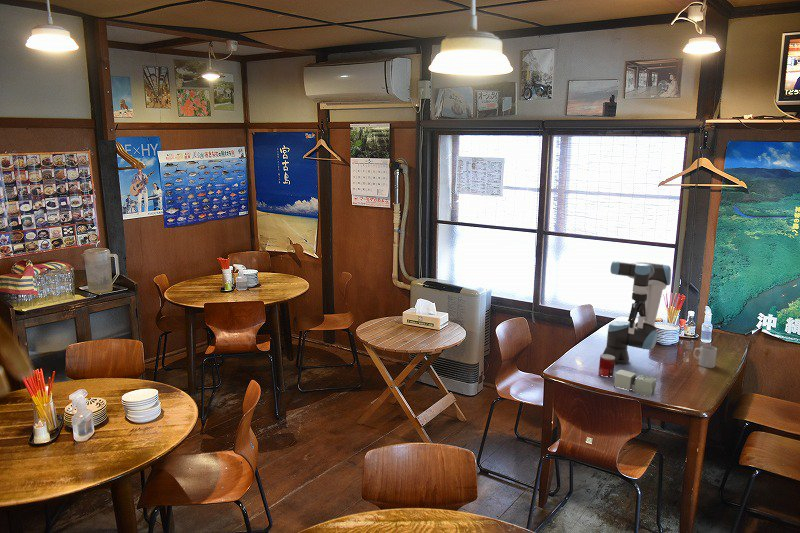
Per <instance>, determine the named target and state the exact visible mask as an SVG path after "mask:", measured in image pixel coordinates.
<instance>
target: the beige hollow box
mask: <svg viewBox="0 0 800 533" xmlns="http://www.w3.org/2000/svg"><path fill="white" fill-rule="evenodd" d="M635 378H637V373H636V372H632V371H629V370H628V371H627V370H625V369H624V370H623V369H619V370H618V371H616V372H615V376H614V383H613V384H614V385H613V387H614V386H616V387H620V388H624V389H627V390H630V388H631V383H635ZM630 391H631V390H630Z"/></svg>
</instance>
